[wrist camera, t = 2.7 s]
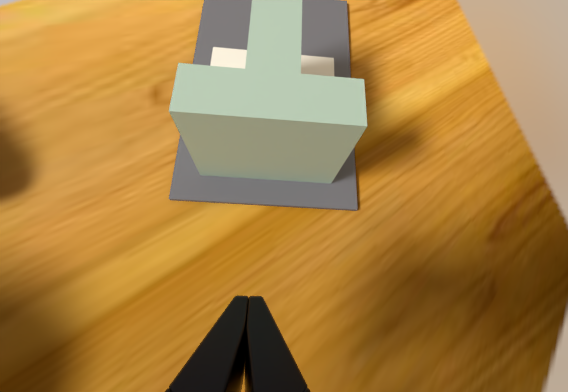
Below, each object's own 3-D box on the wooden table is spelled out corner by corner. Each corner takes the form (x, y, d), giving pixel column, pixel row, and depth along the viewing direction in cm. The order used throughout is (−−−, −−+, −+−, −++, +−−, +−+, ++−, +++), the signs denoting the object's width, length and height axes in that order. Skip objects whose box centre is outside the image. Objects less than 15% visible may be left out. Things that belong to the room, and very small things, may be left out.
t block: (331, 183, 22) (367, 126, 15) (200, 175, 22) (168, 111, 14) (328, 79, 26) (357, -11, 18) (215, 69, 25) (196, -29, 17)
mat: (356, 210, 22) (357, 209, 22) (170, 200, 21) (168, 198, 21) (345, 4, 29) (346, 1, 29) (207, -11, 28) (206, -14, 28)
